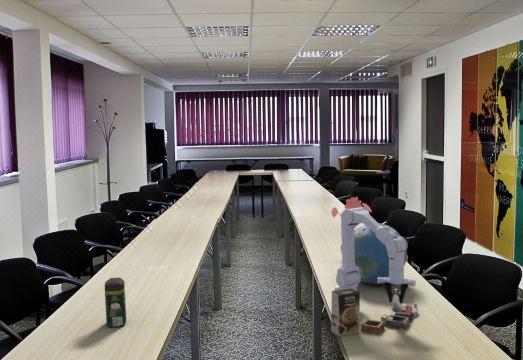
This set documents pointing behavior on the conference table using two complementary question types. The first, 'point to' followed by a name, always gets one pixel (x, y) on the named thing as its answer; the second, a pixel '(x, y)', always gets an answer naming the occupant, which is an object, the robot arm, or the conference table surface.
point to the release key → (384, 317)
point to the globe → (371, 254)
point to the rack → (372, 326)
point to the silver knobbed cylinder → (396, 301)
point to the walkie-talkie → (407, 311)
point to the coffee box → (345, 312)
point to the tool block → (397, 322)
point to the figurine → (351, 207)
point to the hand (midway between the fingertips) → (396, 302)
